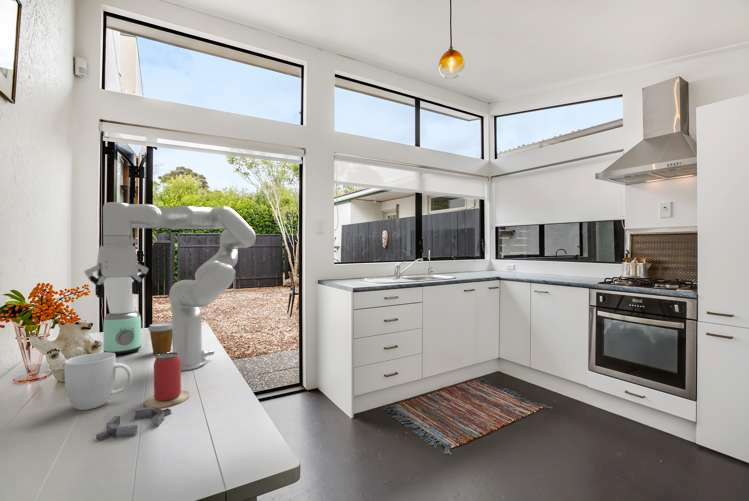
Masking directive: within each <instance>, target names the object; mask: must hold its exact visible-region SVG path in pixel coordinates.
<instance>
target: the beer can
mask: <svg viewBox="0 0 749 501" xmlns="http://www.w3.org/2000/svg"><path fill="white" fill-rule="evenodd" d="M181 373H182V371H181V361H180V358H179V356H178V353H175V352H173V351H171V352H170V353H163V354H160V355H155V361H154V363H153V395H154V398H155V400H157V401H168V400H172V399H175V398H177V397H178V396H179V395H180V393H181V390H182V384H181V383H182V382H181V381H182V378H181V377H182V376H181V375H182V374H181Z"/></svg>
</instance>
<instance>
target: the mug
mask: <svg viewBox="0 0 749 501" xmlns="http://www.w3.org/2000/svg"><path fill="white" fill-rule="evenodd" d="M116 360H117V359H116V356H115V354H114V353H109V352H104V351H103V352H93V353H87V354H82V355H78V356H74V357H70V358H68V359H66V360H65V361H64V387H65V392H66V395H67V398H68V401H69V403H70V404H71V405H72V407H73V408H74V409H76V410H78V411H87V410H92V409H96V408H98V407H102V406H103V405H106V403H107V402H108V401H109V399H110V397H111V396H113V395H116V394H119V393H122V392H124V391H125V390H127V389H128V388H129V386H130V385H131V382H132V380H133V373H132V369H131V368H130V366H128V365H127V364H125V363H122V362H121V363H120V362H119V363H118V362H116ZM119 368H121V369H124V370H125V372H126V373H127V374H126V375H127V381H126V383H125V385H124V386H123V387H121V388H118V389H115V390H114V387H115V381H116V375H117V374H116V373H117V371H116V370H117V369H119Z"/></svg>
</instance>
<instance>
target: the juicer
mask: <svg viewBox="0 0 749 501" xmlns="http://www.w3.org/2000/svg"><path fill="white" fill-rule="evenodd" d="M141 272H142V270H138V274H137V275H139V274H141ZM132 282H134V280H133V279H132V278H131V277H118V278H107V279H106V280H105V281H104V282H103V285H104V294H105V296H106V297H105V298H106V303H107V308H108V312H109V313H107V314H106V315H105V317H104V318H103V326H102V327H103V328H102V329H103V337H102V338H103V342H102V343H103V352H109V353H114V354H115V357H117V355H122V354H127V353H132V354H136V353H139V350H140V348H142V320H141V319H142V318H141V317H142V316H141V314H140V313H139V311H137V310H136V307H137V301H138V295H139V294H132Z"/></svg>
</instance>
